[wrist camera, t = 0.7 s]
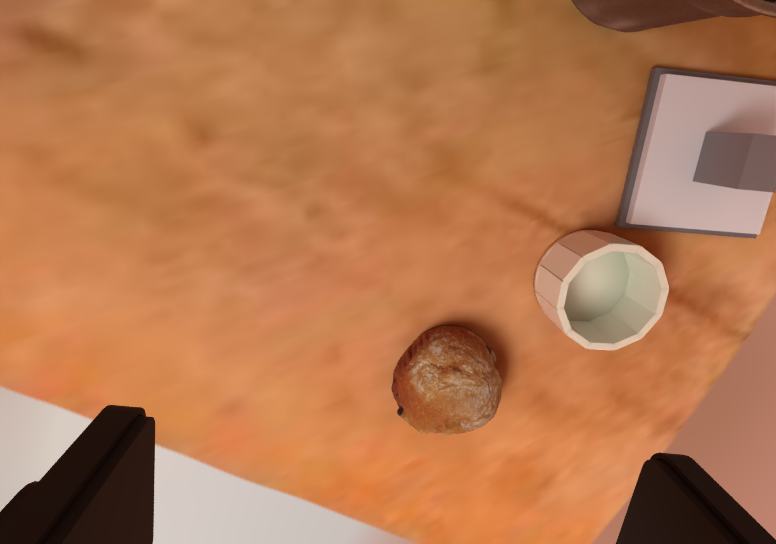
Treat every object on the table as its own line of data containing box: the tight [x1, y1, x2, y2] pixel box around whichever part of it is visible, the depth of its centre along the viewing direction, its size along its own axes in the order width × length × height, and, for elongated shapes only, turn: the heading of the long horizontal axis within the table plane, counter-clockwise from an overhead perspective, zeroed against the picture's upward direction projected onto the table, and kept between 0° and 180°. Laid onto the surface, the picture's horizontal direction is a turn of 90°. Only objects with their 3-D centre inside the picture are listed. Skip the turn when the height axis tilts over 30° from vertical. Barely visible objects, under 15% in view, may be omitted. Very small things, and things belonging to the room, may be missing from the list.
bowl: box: [534, 230, 669, 350], centre depth 41 cm, size 9×9×6 cm
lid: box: [626, 74, 776, 234], centre depth 38 cm, size 12×12×6 cm
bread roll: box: [392, 326, 502, 435], centre depth 44 cm, size 10×10×8 cm
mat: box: [615, 67, 776, 238], centre depth 41 cm, size 13×13×1 cm
